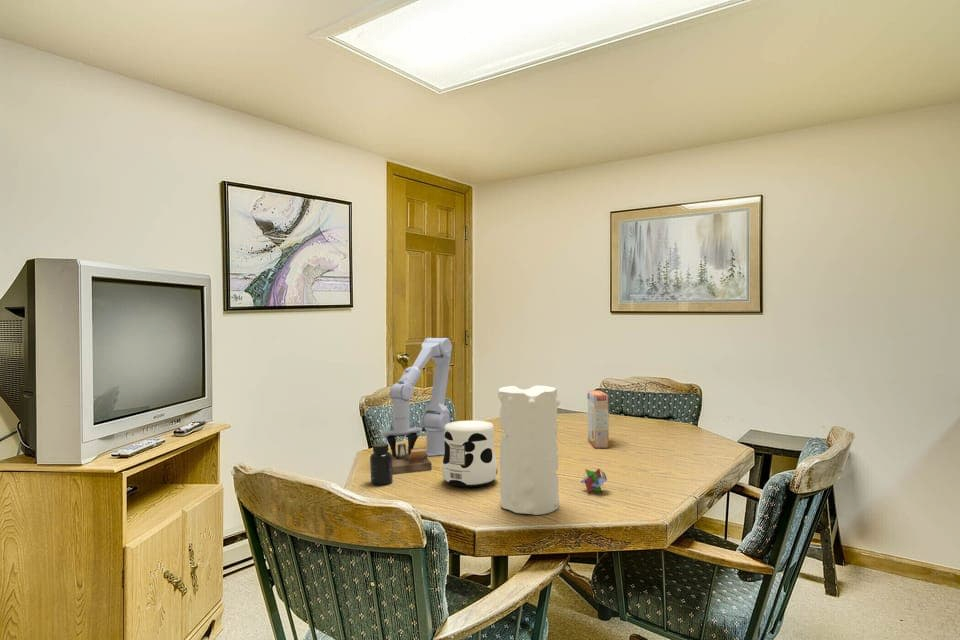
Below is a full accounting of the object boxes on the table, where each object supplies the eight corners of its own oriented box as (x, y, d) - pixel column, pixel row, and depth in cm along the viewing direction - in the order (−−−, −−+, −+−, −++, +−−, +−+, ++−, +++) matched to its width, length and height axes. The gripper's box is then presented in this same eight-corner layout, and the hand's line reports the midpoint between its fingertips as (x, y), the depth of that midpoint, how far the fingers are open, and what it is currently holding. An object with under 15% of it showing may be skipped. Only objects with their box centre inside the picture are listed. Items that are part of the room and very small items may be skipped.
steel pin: (405, 462, 193) (404, 443, 193) (407, 464, 190) (406, 444, 190) (396, 463, 191) (396, 444, 192) (399, 465, 189) (398, 445, 189)
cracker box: (609, 448, 208) (609, 394, 208) (594, 448, 209) (593, 394, 209) (602, 440, 222) (601, 389, 222) (587, 440, 223) (586, 390, 223)
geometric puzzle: (590, 490, 151) (601, 465, 154) (572, 485, 157) (583, 460, 159) (604, 502, 155) (614, 476, 157) (586, 495, 160) (596, 471, 163)
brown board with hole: (421, 458, 198) (421, 448, 198) (431, 470, 183) (431, 459, 183) (383, 462, 193) (383, 452, 193) (390, 474, 178) (390, 463, 178)
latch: (423, 458, 188) (422, 455, 188) (426, 450, 183) (425, 447, 184) (409, 460, 186) (408, 456, 187) (411, 452, 182) (411, 448, 182)
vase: (567, 515, 138) (564, 391, 138) (504, 518, 137) (502, 393, 137) (552, 494, 155) (550, 383, 155) (496, 496, 154) (495, 385, 154)
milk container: (491, 473, 178) (490, 418, 178) (502, 489, 161) (501, 429, 161) (439, 476, 175) (438, 421, 175) (445, 493, 158) (444, 432, 158)
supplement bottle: (384, 478, 174) (383, 441, 174) (396, 482, 169) (396, 444, 169) (366, 483, 169) (365, 444, 169) (378, 487, 164) (377, 448, 164)
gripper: (417, 413, 197) (418, 450, 197) (378, 417, 191) (379, 455, 191) (423, 416, 191) (424, 455, 191) (383, 420, 185) (384, 460, 185)
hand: (402, 455), depth 190 cm, fingers open, 5 cm apart
